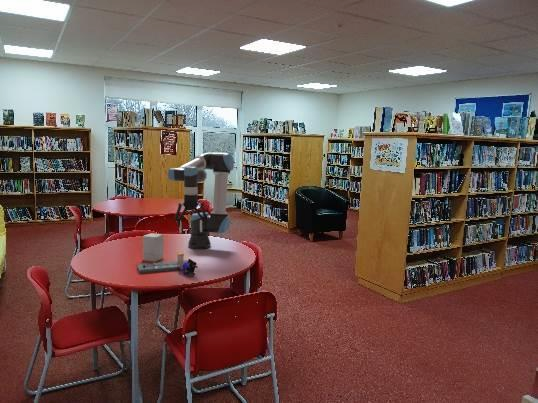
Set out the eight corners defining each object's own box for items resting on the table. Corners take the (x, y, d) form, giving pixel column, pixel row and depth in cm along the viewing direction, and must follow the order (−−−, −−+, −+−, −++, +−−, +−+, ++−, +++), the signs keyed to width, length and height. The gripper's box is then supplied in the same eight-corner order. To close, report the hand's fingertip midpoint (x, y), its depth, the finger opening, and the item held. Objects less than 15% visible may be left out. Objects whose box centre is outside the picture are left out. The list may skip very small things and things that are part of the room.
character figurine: (188, 278, 217) (177, 271, 229) (200, 275, 221) (189, 268, 233) (186, 264, 215) (176, 257, 227) (199, 261, 219) (188, 255, 231)
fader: (182, 262, 237) (182, 252, 236) (183, 263, 235) (183, 254, 234) (177, 262, 236) (177, 253, 235) (177, 264, 233) (177, 254, 233)
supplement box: (164, 258, 252) (163, 234, 250) (155, 261, 244) (155, 237, 241) (151, 256, 255) (151, 232, 253) (142, 260, 246) (142, 235, 244)
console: (187, 263, 243) (187, 258, 242) (191, 269, 232) (191, 264, 231) (137, 267, 233) (137, 262, 232) (139, 273, 222) (139, 268, 221)
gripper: (209, 192, 239) (209, 229, 243) (168, 193, 231) (168, 231, 234) (212, 194, 232) (212, 232, 236) (170, 195, 224) (170, 234, 227)
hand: (190, 232), depth 235 cm, fingers open, 11 cm apart
